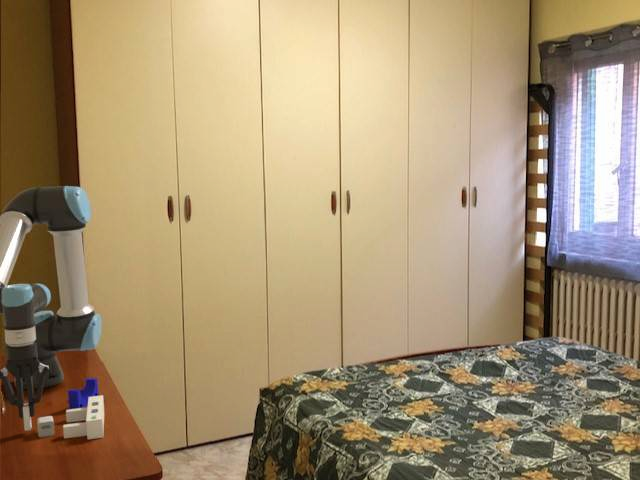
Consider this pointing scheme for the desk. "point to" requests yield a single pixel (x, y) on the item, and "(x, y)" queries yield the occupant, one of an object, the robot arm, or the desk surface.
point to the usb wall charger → (45, 426)
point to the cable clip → (83, 394)
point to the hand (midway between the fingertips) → (28, 428)
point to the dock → (93, 420)
